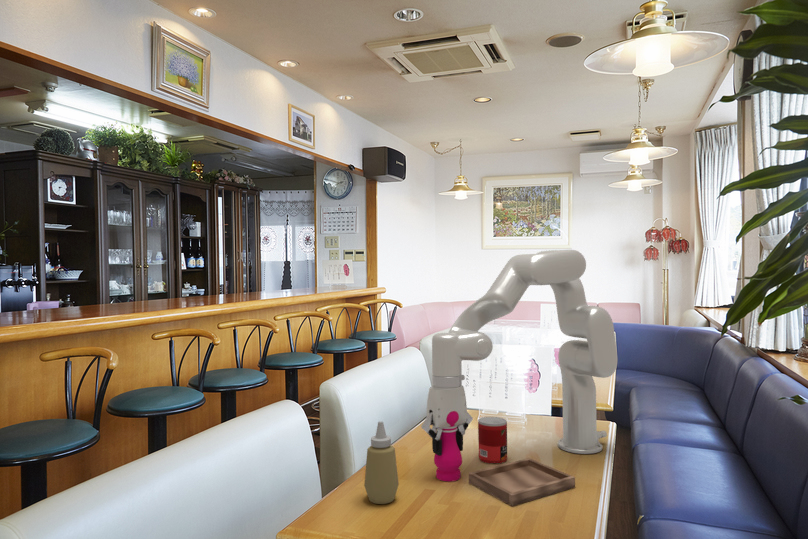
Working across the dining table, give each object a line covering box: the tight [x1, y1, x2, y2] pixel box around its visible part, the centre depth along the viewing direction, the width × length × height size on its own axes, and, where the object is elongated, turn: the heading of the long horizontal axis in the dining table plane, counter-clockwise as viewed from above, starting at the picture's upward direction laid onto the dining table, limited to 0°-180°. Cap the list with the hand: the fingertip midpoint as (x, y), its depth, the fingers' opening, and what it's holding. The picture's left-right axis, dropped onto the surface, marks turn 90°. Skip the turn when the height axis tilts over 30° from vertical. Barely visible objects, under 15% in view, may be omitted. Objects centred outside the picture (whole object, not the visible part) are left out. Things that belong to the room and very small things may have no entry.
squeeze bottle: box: [363, 421, 400, 505], centre depth 128 cm, size 8×8×18 cm
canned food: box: [477, 416, 508, 465], centre depth 154 cm, size 8×8×11 cm
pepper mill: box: [433, 411, 463, 483], centre depth 141 cm, size 7×7×20 cm
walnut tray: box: [468, 457, 576, 507], centre depth 135 cm, size 20×16×2 cm
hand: (447, 451), depth 141 cm, fingers closed on pepper mill, 5 cm apart
